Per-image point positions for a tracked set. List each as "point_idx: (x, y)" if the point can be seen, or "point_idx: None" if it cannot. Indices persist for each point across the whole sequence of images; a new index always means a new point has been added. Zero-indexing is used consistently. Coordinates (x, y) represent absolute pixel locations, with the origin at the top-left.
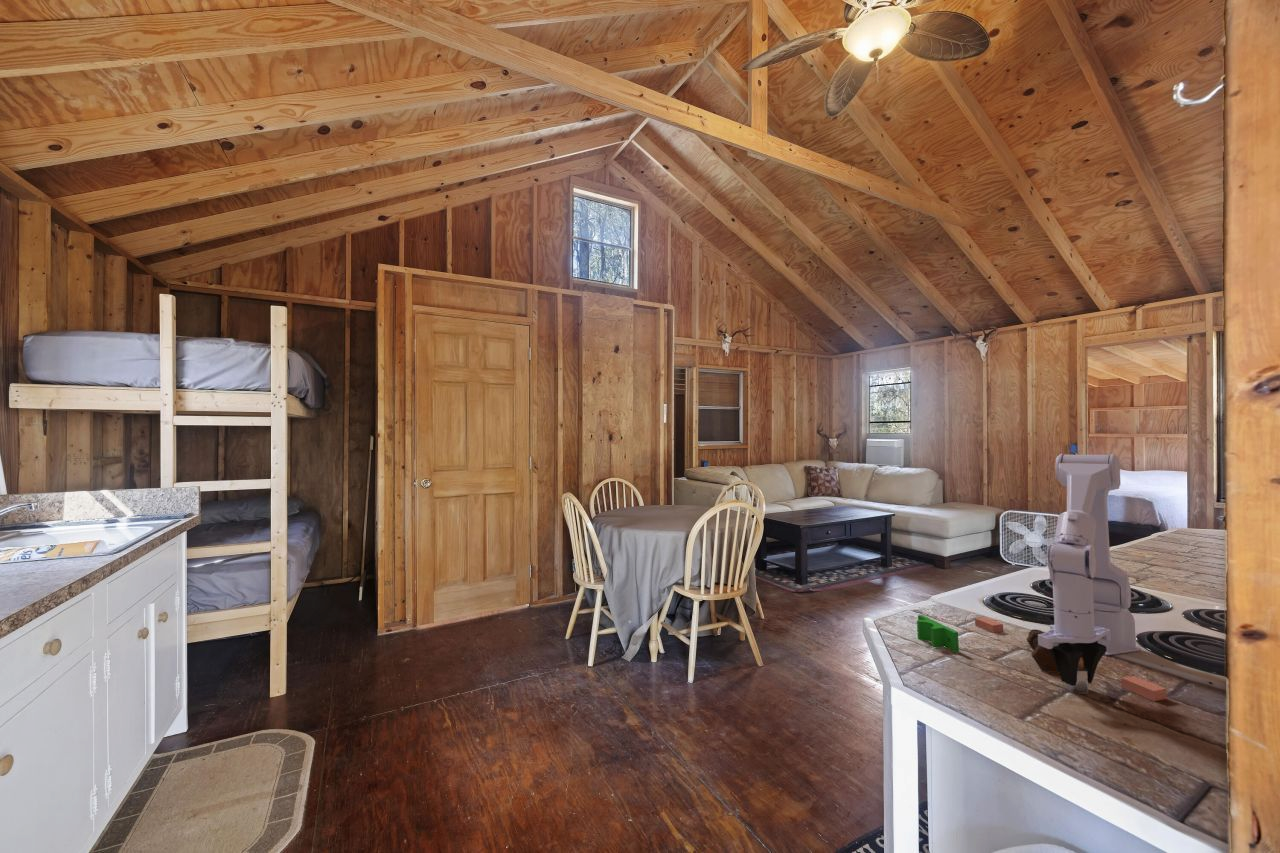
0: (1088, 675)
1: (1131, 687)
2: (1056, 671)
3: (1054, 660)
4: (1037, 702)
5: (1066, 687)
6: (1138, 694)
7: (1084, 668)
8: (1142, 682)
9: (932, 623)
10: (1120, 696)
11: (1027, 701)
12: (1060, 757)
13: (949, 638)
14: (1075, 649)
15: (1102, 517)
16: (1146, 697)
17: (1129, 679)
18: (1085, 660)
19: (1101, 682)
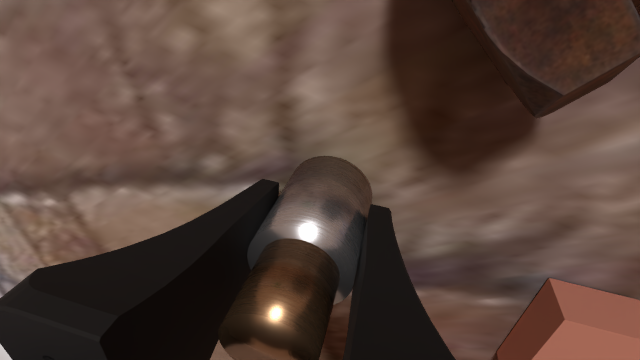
0: (355, 276)
1: (533, 322)
2: (472, 32)
3: (175, 230)
4: (93, 168)
5: (294, 171)
6: (519, 321)
7: (338, 295)
8: None
9: None
10: (432, 290)
11: (63, 148)
12: (6, 285)
13: None
14: (348, 350)
15: None
16: (507, 339)
17: (573, 341)
18: (348, 338)
19: (539, 217)
